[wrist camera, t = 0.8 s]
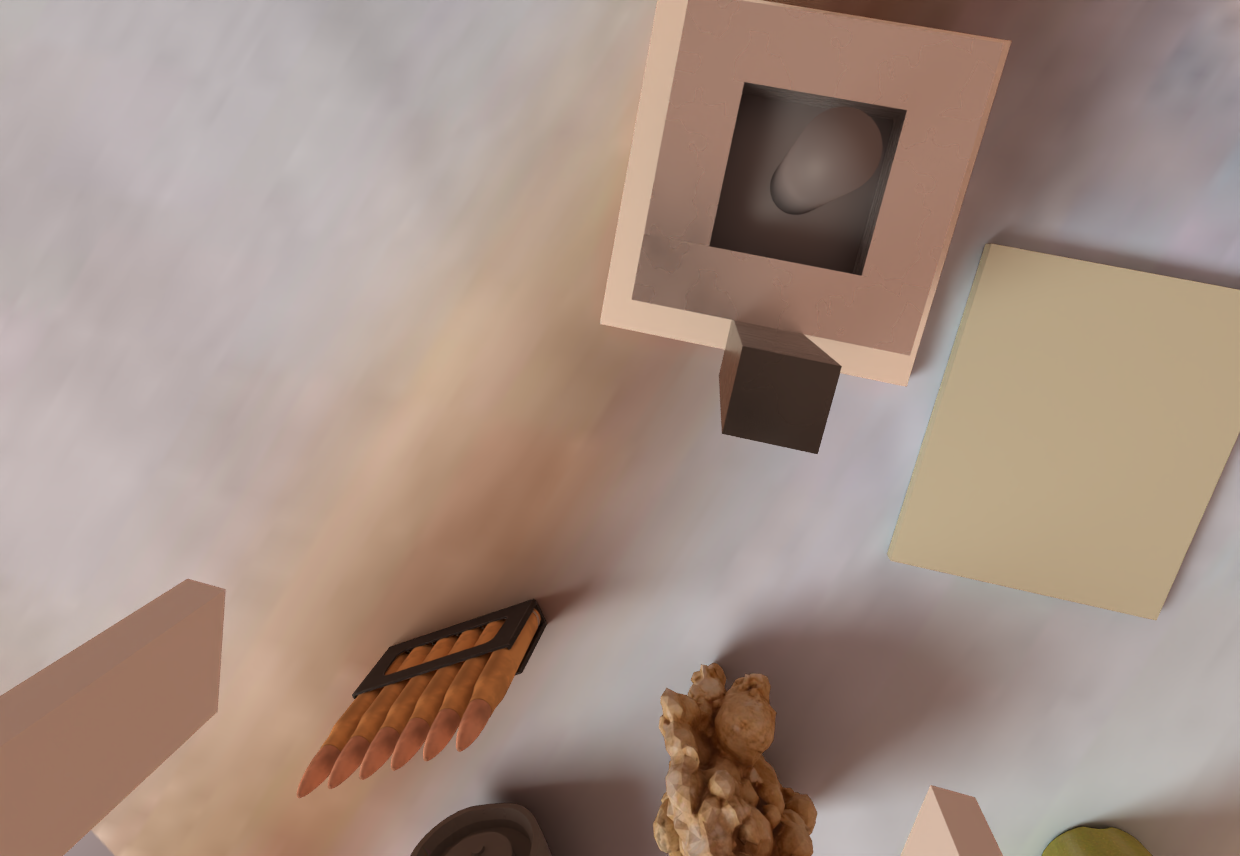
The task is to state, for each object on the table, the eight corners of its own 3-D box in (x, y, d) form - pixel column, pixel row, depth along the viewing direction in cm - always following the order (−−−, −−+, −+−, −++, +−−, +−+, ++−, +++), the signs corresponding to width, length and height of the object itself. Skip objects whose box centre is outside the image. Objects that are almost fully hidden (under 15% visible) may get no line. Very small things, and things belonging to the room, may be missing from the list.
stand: (662, -7, 33) (623, -213, 19) (1000, 49, 32) (1240, -126, 17) (603, 321, 37) (533, 361, 23) (900, 382, 36) (1026, 465, 21)
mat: (985, 243, 34) (991, 243, 33) (1283, 299, 33) (1297, 300, 32) (886, 554, 38) (890, 560, 37) (1147, 612, 37) (1156, 620, 36)
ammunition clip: (536, 597, 42) (468, 727, 30) (548, 624, 42) (486, 762, 31) (388, 647, 44) (272, 785, 32) (400, 671, 44) (291, 817, 33)
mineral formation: (703, 831, 44) (699, 1109, 30) (625, 654, 42) (580, 863, 27) (825, 803, 43) (883, 1082, 28) (751, 617, 40) (774, 818, 26)
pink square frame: (691, 9, 29) (678, -137, 18) (984, 58, 28) (1152, -67, 17) (625, 356, 32) (582, 403, 22) (880, 409, 31) (965, 485, 21)
